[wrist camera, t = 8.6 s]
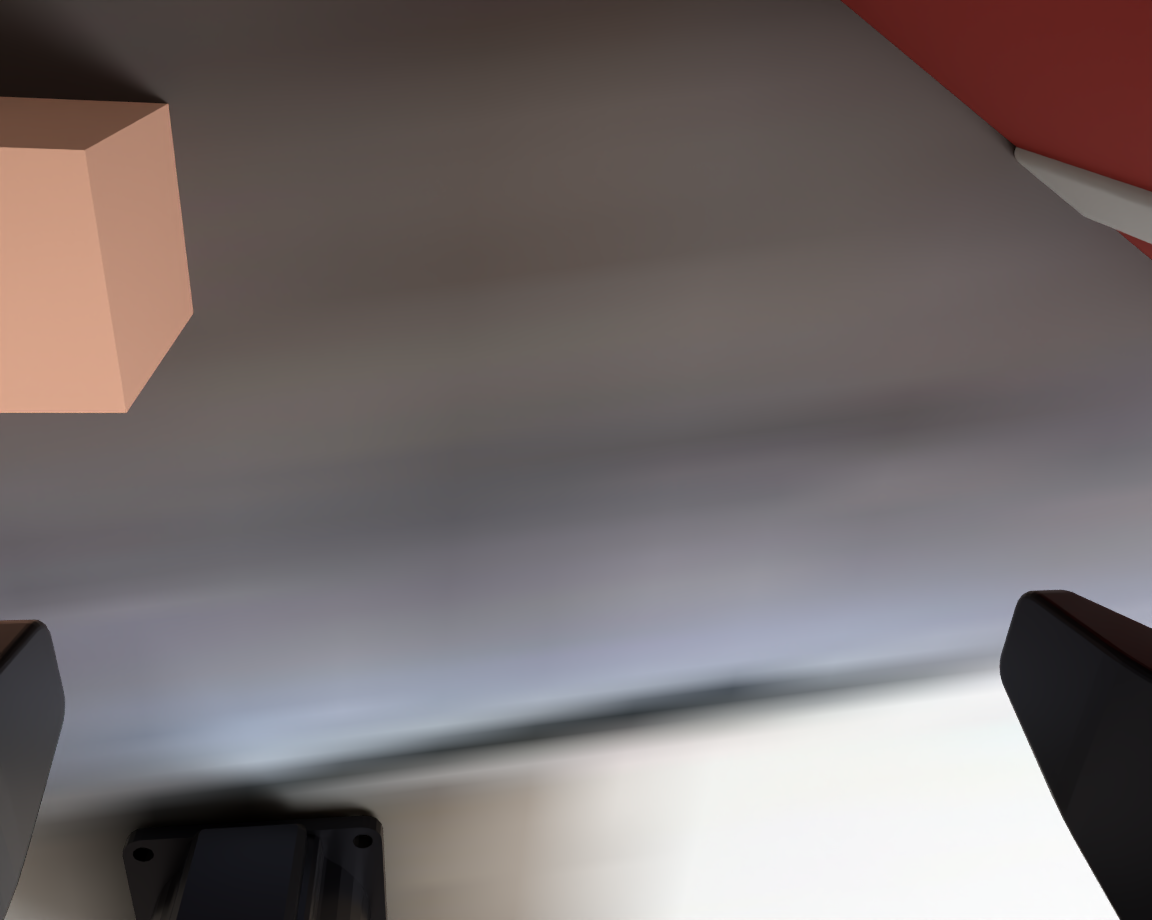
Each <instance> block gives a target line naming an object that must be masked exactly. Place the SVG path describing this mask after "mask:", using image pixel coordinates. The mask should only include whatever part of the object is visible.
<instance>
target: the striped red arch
mask: <svg viewBox="0 0 1152 920" xmlns="http://www.w3.org/2000/svg"><path fill="white" fill-rule="evenodd" d="M841 1H842V2H843V3H844V4H846V5H847V6H848V7H849V8H850V9H852V10H853V11H854V12H855V13H856V14H858V15H859V16H860V17H861V18H862V19H864V20H865V21H866V22H867V23H868V24H870V25H871V26H872V27H873V28H874V29H876V30H877V31H878V32H879V33H880V34H882V35H883V36H884V37H885V38H886V39H888V40H889V41H890V42H891V43H892V44H894V45H895V46H896V47H897V48H898V49H900V50H901V51H902V52H903V53H904V54H906V55H907V56H908V57H909V58H910V59H912V60H913V61H914V62H915V63H916V64H918V65H919V66H920V67H921V68H922V69H924V70H925V71H926V72H927V73H928V74H930V75H931V76H932V77H933V78H934V79H936V80H937V81H938V82H939V83H940V84H942V85H943V86H944V87H945V88H946V89H948V90H949V91H950V92H951V93H952V94H954V95H955V96H956V97H957V98H958V99H960V100H961V101H962V102H963V103H964V104H966V105H967V106H968V107H969V108H970V109H972V110H973V111H974V112H975V113H976V114H978V115H979V116H980V117H981V118H982V119H984V120H985V121H986V122H987V123H988V124H990V125H991V126H992V127H993V128H994V129H996V130H997V131H998V132H999V133H1000V134H1002V135H1003V136H1004V137H1005V138H1006V139H1008V140H1009V141H1010V142H1011V143H1012V144H1014V145H1015V146H1016V149H1015V153H1014V154H1015V158H1016V160H1017V161H1018V162H1019V163H1020V164H1021V165H1022V166H1023V167H1025V168H1026V169H1027V170H1028V171H1030V172H1031V173H1032V174H1033V175H1034V176H1036V177H1037V178H1038V179H1039V180H1040V181H1042V182H1043V183H1044V184H1045V185H1046V186H1048V187H1049V188H1050V189H1051V190H1052V191H1054V192H1055V193H1056V194H1057V195H1059V196H1060V197H1061V198H1062V199H1063V200H1065V201H1066V202H1067V203H1068V204H1069V205H1071V206H1072V207H1073V208H1074V209H1075V210H1077V211H1078V212H1079V213H1080V214H1082V215H1083V216H1084V217H1086V218H1089V219H1091V220H1094V221H1096V222H1099V223H1101V224H1104V225H1106V226H1109V227H1111V228H1114V229H1115V230H1117V231H1118V232H1119V233H1120V234H1121V235H1123V236H1124V237H1125V238H1126V239H1127V240H1129V241H1130V242H1131V243H1132V244H1133V245H1135V246H1136V247H1137V248H1138V249H1139V250H1141V251H1142V252H1143V253H1144V254H1145V255H1147V256H1148V257H1149V258H1150V259H1151V260H1152V0H841Z"/></svg>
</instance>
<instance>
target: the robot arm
mask: <svg viewBox="0 0 1152 920" xmlns="http://www.w3.org/2000/svg"><path fill="white" fill-rule="evenodd" d="M1000 675H1001V679H1002V683H1003V686H1004V688H1005V690H1006V693H1007V695H1008V697H1009V699H1010V702H1011V704H1012V706H1013V709H1014V711H1015V713H1016V715H1017V718H1018V720H1019V722H1020V724H1021V727H1022V729H1023V731H1024V733H1025V736H1026V738H1027V740H1028V742H1029V745H1030V747H1031V749H1032V751H1033V754H1034V756H1035V758H1036V761H1037V763H1038V765H1039V767H1040V770H1041V772H1042V774H1043V776H1044V779H1045V781H1046V783H1047V785H1048V788H1049V790H1050V792H1051V794H1052V797H1053V799H1054V801H1055V803H1056V805H1057V807H1058V809H1059V811H1060V813H1061V815H1062V817H1063V820H1064V821H1065V823H1066V825H1067V827H1068V829H1069V831H1070V833H1071V834H1072V836H1073V838H1074V840H1075V842H1076V844H1077V846H1078V847H1079V849H1080V851H1081V853H1082V854H1083V856H1084V858H1085V860H1086V861H1087V863H1088V865H1089V867H1090V868H1091V870H1092V872H1093V874H1094V875H1095V877H1096V879H1097V881H1098V882H1099V884H1100V886H1101V888H1102V889H1103V891H1104V893H1105V895H1106V896H1107V898H1108V900H1109V902H1110V903H1111V905H1112V907H1113V909H1114V911H1115V912H1116V914H1117V916H1118V918H1119V919H1120V920H1152V628H1149V627H1147V626H1145V625H1143V624H1141V623H1138V622H1136V621H1134V620H1132V619H1130V618H1128V617H1125V616H1123V615H1121V614H1119V613H1117V612H1114V611H1112V610H1110V609H1108V608H1106V607H1103V606H1101V605H1099V604H1097V603H1095V602H1092V601H1090V600H1088V599H1086V598H1084V597H1081V596H1079V595H1077V594H1075V593H1073V592H1070V591H1066V590H1041V591H1029V592H1027V593H1025V594H1023V595H1022V596H1021V598H1020V599H1019V600H1018V602H1017V605H1016V607H1015V611H1014V614H1013V617H1012V621H1011V624H1010V627H1009V631H1008V634H1007V637H1006V641H1005V644H1004V647H1003V650H1002V654H1001V658H1000ZM64 714H65V696H64V691H63V686H62V682H61V678H60V673H59V669H58V664H57V660H56V656H55V651H54V647H53V642H52V638H51V634H50V632H49V630H48V628H47V626H46V625H45V624H44V623H42V622H41V621H39V620H4V621H0V920H4V918H5V915H6V913H7V910H8V908H9V905H10V902H11V900H12V897H13V895H14V892H15V889H16V887H17V884H18V881H19V877H20V874H21V871H22V868H23V864H24V861H25V858H26V855H27V851H28V847H29V844H30V840H31V837H32V833H33V829H34V826H35V822H36V819H37V815H38V811H39V808H40V804H41V801H42V797H43V793H44V790H45V786H46V783H47V779H48V775H49V772H50V768H51V765H52V761H53V757H54V754H55V750H56V747H57V743H58V739H59V736H60V732H61V729H62V725H63V721H64ZM361 834H365V835H368V836H359V835H361ZM141 847H144V848H148V849H143V848H141ZM123 859H124V864H125V869H126V873H127V878H128V883H129V887H130V892H131V897H132V901H133V906H134V911H135V915H136V920H387V902H386V881H385V861H384V840H383V827H382V824H381V823H380V822H379V821H378V820H377V819H376V818H373V817H371V816H350V817H332V818H314V819H297V820H279V821H262V822H244V823H227V824H209V825H192V826H174V827H156V828H143V829H138V830H136V831H134V832H132V833H131V834H130V835H129V837H128V838H127V841H126V844H125V847H124V849H123Z"/></svg>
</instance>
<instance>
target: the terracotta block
mask: <svg viewBox="0 0 1152 920" xmlns="http://www.w3.org/2000/svg"><path fill="white" fill-rule="evenodd" d="M192 314H193V306H192V298H191V290H190V281H189V273H188V265H187V256H186V248H185V240H184V231H183V223H182V215H181V206H180V198H179V190H178V181H177V173H176V165H175V156H174V148H173V140H172V131H171V123H170V115H169V106H168V104H164V103H140V102H116V101H92V100H68V99H44V98H21V97H0V413H127V411H128V410H129V408H130V407H131V405H132V404H133V402H134V401H135V399H136V398H137V396H138V395H139V393H140V392H141V390H142V389H143V387H144V386H145V384H146V383H147V381H148V380H149V378H150V377H151V375H152V374H153V372H154V371H155V369H156V368H157V366H158V365H159V364H160V362H161V361H162V359H163V358H164V356H165V355H166V353H167V352H168V350H169V349H170V347H171V346H172V344H173V343H174V341H175V340H176V338H177V337H178V335H179V334H180V332H181V331H182V329H183V328H184V326H185V325H186V323H187V322H188V320H189V319H190V317H191V316H192Z"/></svg>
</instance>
